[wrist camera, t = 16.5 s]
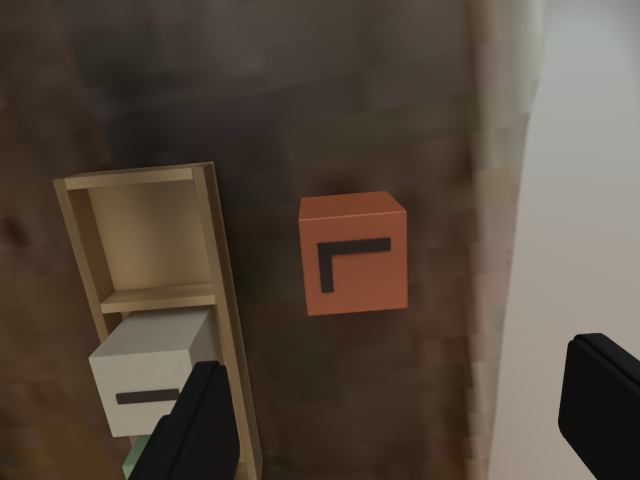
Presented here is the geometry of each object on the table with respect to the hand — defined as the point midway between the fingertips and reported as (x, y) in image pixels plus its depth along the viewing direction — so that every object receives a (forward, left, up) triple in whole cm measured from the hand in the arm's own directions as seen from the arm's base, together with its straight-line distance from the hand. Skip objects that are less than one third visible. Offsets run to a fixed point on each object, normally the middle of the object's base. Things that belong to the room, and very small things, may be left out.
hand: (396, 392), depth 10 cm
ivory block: (-6, -11, -13) cm, 18 cm away
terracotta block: (0, 0, -13) cm, 13 cm away
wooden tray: (-6, -11, -13) cm, 18 cm away
